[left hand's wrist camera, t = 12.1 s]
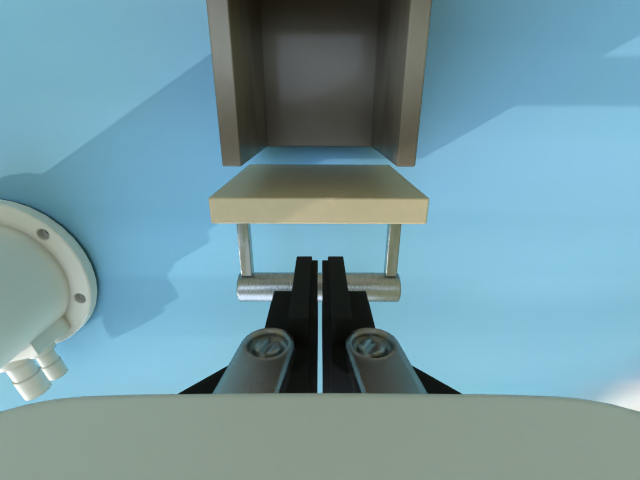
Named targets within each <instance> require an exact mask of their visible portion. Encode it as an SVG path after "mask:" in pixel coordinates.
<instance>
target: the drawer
mask: <svg viewBox="0 0 640 480" xmlns="http://www.w3.org/2000/svg"><path fill="white" fill-rule="evenodd" d="M206 3H207V13H208V23H209V33H210V43H211V53H212V63H213V73H214V83H215V93H216V103H217V113H218V123H219V133H220V143H221V153H222V163H223V166H242V165H243V164H244V163H246V162H247V161H248V160H250V159H251V158H252V157H254V156H255V155H256V154H258V153H259V152H260V151H262V150H263V149H264V148H266V147H267V146H328V147H373V148H374V149H375V150H377V151H378V152H379V153H381V154H382V155H383V156H385V157H386V158H387V159H389V160H390V161H391V162H392V163H394V164H395V165H396V166H400V167H413V166H415V161H416V151H417V142H418V132H419V122H420V112H421V103H422V93H423V83H424V73H425V63H426V54H427V44H428V34H429V24H430V15H431V5H432V0H206ZM428 205H429V198H428V197H427V196H425V195H424V194H423V193H422V192H421V191H419V190H418V189H417V188H416V187H415V186H413V185H412V184H411V183H410V182H409V181H407V180H406V179H405V178H404V177H403V176H402V175H400V174H399V173H398V172H397V171H396V170H394V169H393V168H392V167H391V166H390V165H249V166H247V167H246V168H245V169H244V170H242V171H241V172H240V173H239V174H238V175H236V176H235V177H234V178H233V179H231V180H230V181H229V182H228V183H227V184H225V185H224V186H223V187H222V188H220V189H219V190H218V191H217V192H216V193H214V194H213V195H212V196H211V197H209V206H210V214H211V222H212V223H237V233H238V244H239V255H240V266H241V273H240V274H239V276H238V281H237V296H238V300H239V301H241V302H271V301H272V297H273V293H274V291H292V286H293V279H294V273H253V272H254V267H253V254H252V241H251V228H250V223H281V224H388V228H387V241H386V254H385V266H384V273H346V279H347V286H348V291H366V293H367V297H368V301H369V302H398V301H399V299H400V295H401V282H400V277H399V275H398V273H397V265H398V254H399V243H400V233H401V224H425V223H426V221H427V213H428ZM318 302H322V273H318Z"/></svg>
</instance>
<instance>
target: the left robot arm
mask: <svg viewBox="0 0 640 480" xmlns="http://www.w3.org/2000/svg"><path fill="white" fill-rule="evenodd" d="M96 300H97V283H96V277H95V274H94V271H93V268H92V265H91V263H90V261H89V259H88V258H87V256H86V254H85V252H84V251H83V249H82V248H81V247H80V245H79V244H78V243H77V242H76V240H75V239H74V238H73V237H72V236H71V235H70V234H69V233H68V232H67V231H66V230H65V229H64V228H63V227H62V226H60V225H59V224H57V223H56V222H55V221H53V220H52V219H50V218H49V217H48V216H46V215H44V214H42V213H40V212H38V211H36V210H34V209H32V208H31V207H28V206H25V205H22V204H19V203H16V202H13V201H7V200H1V199H0V373H2V372H6V373H7V374H8V375H9V377H10V378H11V380H12V381H13V382H12V383H13V385H14V386H15V387H16V389H17V390H18V391H19V393H20V394H21V395H22V397H23V398H24V399H25V400H26V401H29V400H32V399H35V398H37V397H39V396H40V395H42V394H44V393H45V392H46V391H47V390H48V389H49V388H50V387H51V385H52V384H51V382H50V381H53V380H55V379H58V378H60V377H61V376H63V375H64V374H65V373H66V372H67V371H68V368H67V367H66V365H65V364H64V362H63V361H62V359H61V357H60V356H58V355H57V353H56V352H55V350H54V348H55V346H56V343H59V342H61V341H64V340H66V339H67V338H69V337H70V336H72V335H73V334H75V333H76V332H77V331H78V330H79V329H80V328H81V327H82V326H84V325H85V324H86V322H87V321H88V319H89V318H90V317H91V315H92V313H93V310H94V308H95V305H96ZM33 359H36V360H37V362H38V363H39V364H40V366H41V367H38V365H37V364H36V363H35V361H34V360H33ZM317 363H318V260H312V257H297V260H296V266H295V273H294V279H293V286H292V291H274V293H273V297H272V301H271V305H270V309H269V313H268V317H267V321H266V325H265V328H264V329H259V330H257V331H254V332H252V333H250V334H249V335H247V336H246V337H245V338H244V340H243V341H242V342H241V344H240V346H239V348H238V349H237V351H236V353H235V355H234V357H233V358H232V360H231V362H230V364H229V365H228V366H227V367H225V368H223V369H221V370H220V371H218V372H216V373H214V374H212V375H211V376H209V377H207V378H205V379H204V380H202V381H200V382H198V383H196V384H195V385H193V386H191V387H189V388H188V389H186V390H184V391H182V392H180V393H179V394H160V395H110V396H83V397H73V398H62V399H54V400H49V401H43V402H38V403H32V404H27V405H24V406H20V407H16V408H13V409H9V410H5V411H2V412H0V480H640V412H638V411H635V410H631V409H627V408H624V407H620V406H616V405H613V404H608V403H602V402H597V401H591V400H586V399H578V398H567V397H557V396H530V395H487V394H461V393H460V392H458V391H456V390H454V389H452V388H451V387H449V386H447V385H445V384H444V383H442V382H440V381H438V380H436V379H435V378H433V377H431V376H429V375H428V374H426V373H424V372H422V371H420V370H419V369H417V368H415V367H413V366H412V365H411V364H410V362H409V360H408V358H407V357H406V355H405V353H404V351H403V349H402V348H401V346H400V344H399V342H398V341H397V340H396V338H395V337H394V336H393V335H391V334H390V333H388V332H386V331H383V330H381V329H376V328H375V325H374V321H373V317H372V313H371V309H370V305H369V301H368V297H367V293H366V291H348V286H347V279H346V273H345V266H344V260H343V257H328V260H322V363H323V393H317Z"/></svg>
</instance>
